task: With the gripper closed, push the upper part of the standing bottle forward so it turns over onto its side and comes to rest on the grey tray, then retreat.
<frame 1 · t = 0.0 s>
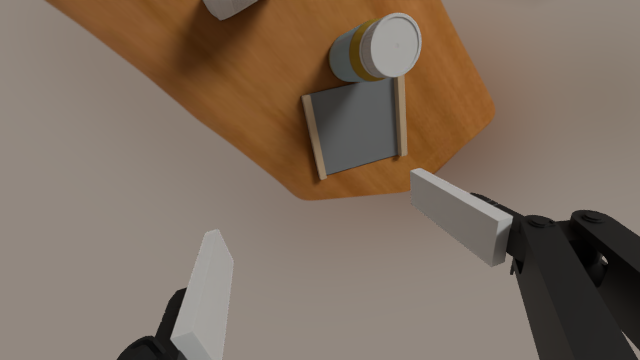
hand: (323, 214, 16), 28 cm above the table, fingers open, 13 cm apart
grey tray: (356, 127, 44), on the table
bottle: (347, 58, 39), on the table
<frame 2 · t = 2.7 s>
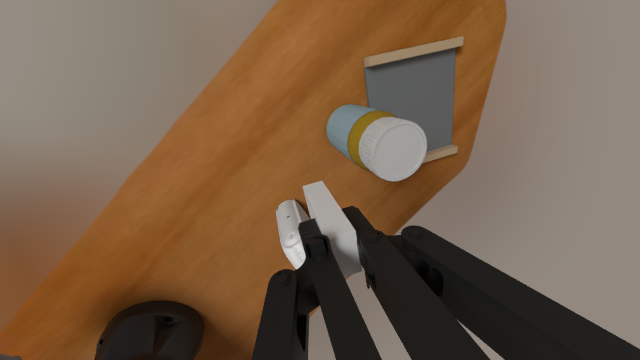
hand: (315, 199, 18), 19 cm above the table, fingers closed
grey tray: (411, 110, 38), on the table
bottle: (345, 127, 37), on the table
photo printer: (298, 221, 41), on the table
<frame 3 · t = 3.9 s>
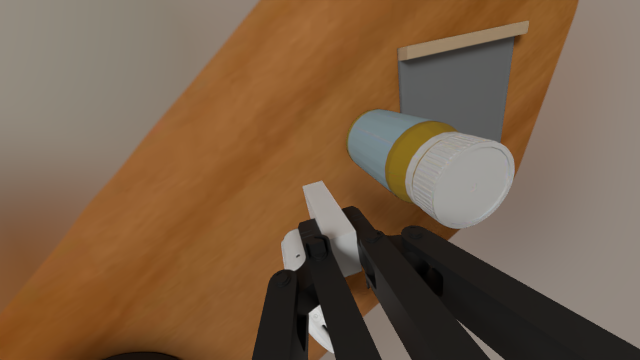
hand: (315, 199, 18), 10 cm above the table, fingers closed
grey tray: (453, 116, 30), on the table
bottle: (370, 138, 29), on the table
photo printer: (308, 253, 33), on the table
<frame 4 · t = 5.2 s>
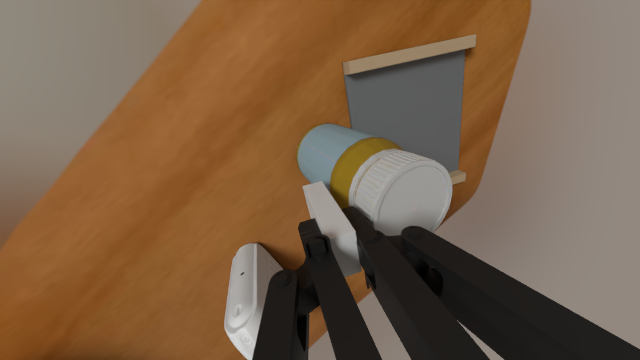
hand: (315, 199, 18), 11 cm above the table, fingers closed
grey tray: (408, 128, 30), on the table
bottle: (322, 152, 28), on the table
photo printer: (264, 267, 32), on the table
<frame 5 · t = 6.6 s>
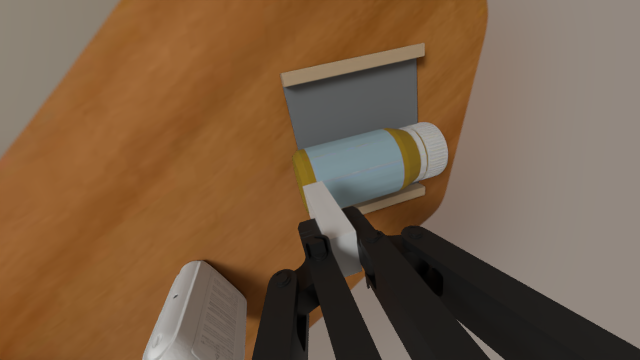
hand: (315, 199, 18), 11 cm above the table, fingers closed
grey tray: (360, 141, 28), on the table
bottle: (298, 185, 24), point 4 cm above the table, touching grey tray
photo printer: (214, 284, 31), on the table
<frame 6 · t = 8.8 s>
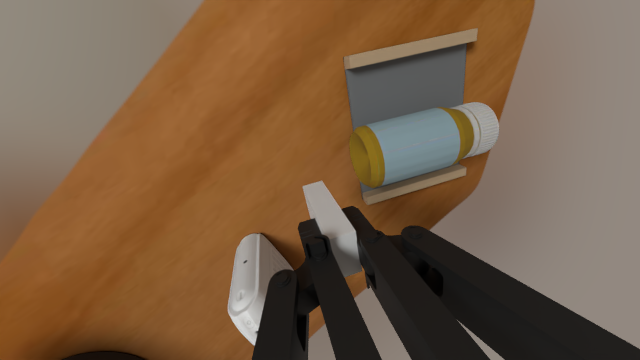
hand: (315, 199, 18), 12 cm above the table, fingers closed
grey tray: (408, 123, 30), on the table
bottle: (357, 159, 26), point 4 cm above the table, touching grey tray
photo printer: (267, 257, 34), on the table
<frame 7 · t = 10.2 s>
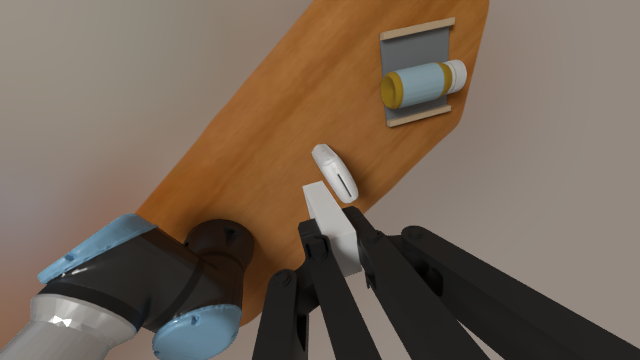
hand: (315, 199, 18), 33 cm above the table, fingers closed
grey tray: (415, 75, 50), on the table
bottle: (386, 92, 46), point 4 cm above the table, touching grey tray
photo printer: (327, 163, 54), on the table
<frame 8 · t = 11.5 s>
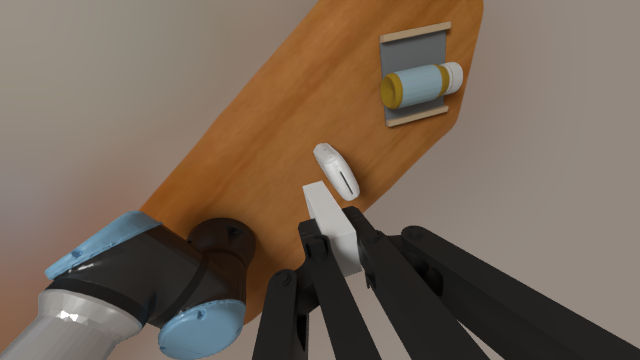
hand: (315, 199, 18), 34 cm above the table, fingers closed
grey tray: (413, 76, 52), on the table
bottle: (386, 92, 48), point 4 cm above the table, touching grey tray
photo printer: (328, 162, 55), on the table
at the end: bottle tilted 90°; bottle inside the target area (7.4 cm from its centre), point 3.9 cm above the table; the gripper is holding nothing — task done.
